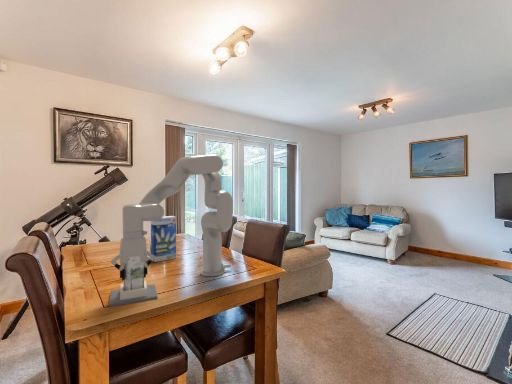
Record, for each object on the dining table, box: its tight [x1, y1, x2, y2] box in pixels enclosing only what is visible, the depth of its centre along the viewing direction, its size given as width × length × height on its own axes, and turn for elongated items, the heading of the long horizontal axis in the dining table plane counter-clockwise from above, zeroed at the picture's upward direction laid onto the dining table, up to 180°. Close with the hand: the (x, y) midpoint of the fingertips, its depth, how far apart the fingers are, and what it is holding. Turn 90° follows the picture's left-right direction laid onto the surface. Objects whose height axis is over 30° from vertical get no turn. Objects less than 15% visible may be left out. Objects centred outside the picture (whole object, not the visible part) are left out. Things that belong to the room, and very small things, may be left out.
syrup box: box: [123, 256, 145, 291], centre depth 108 cm, size 6×6×14 cm
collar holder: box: [108, 279, 159, 308], centre depth 108 cm, size 17×14×4 cm
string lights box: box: [150, 215, 177, 263], centre depth 161 cm, size 13×8×26 cm, turn 131°
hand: (133, 277), depth 108 cm, fingers closed on syrup box, 7 cm apart
